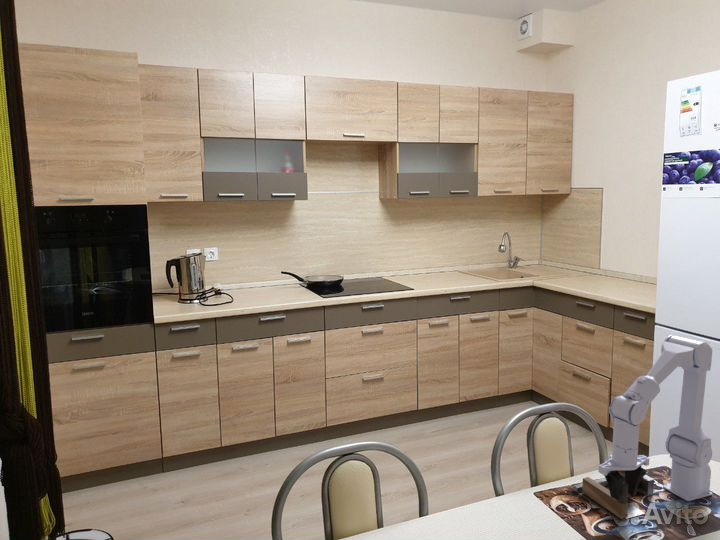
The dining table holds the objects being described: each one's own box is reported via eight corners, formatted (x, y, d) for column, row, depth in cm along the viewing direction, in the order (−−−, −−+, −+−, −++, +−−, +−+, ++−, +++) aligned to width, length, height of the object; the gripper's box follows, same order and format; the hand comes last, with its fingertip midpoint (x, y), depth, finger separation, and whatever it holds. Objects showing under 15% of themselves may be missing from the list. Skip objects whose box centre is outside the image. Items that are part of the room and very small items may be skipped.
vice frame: (624, 477, 157) (625, 463, 157) (672, 506, 143) (673, 490, 142) (573, 490, 151) (573, 475, 150) (618, 521, 136) (619, 504, 136)
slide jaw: (588, 490, 150) (589, 459, 149) (628, 517, 137) (630, 483, 136) (581, 492, 149) (583, 461, 148) (621, 519, 136) (623, 485, 135)
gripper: (634, 433, 142) (631, 482, 143) (590, 442, 136) (587, 493, 138) (657, 445, 135) (654, 496, 137) (612, 455, 130) (609, 508, 132)
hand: (622, 495), depth 137 cm, fingers open, 4 cm apart
